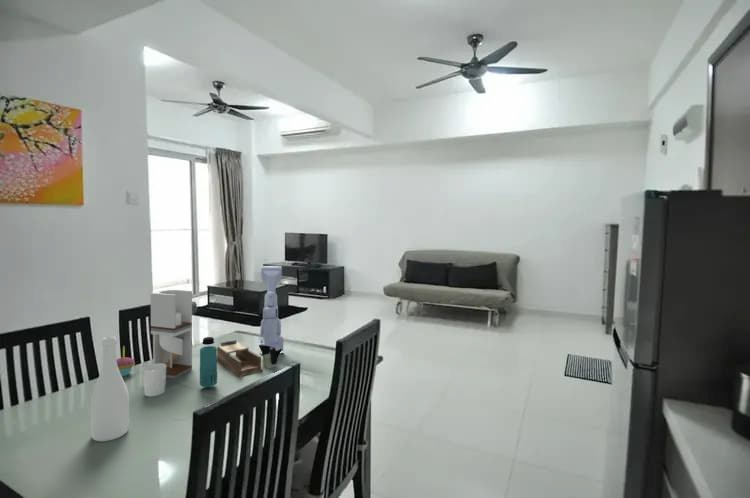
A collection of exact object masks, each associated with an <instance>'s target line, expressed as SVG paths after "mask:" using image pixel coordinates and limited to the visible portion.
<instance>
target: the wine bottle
mask: <svg viewBox="0 0 750 498" xmlns="http://www.w3.org/2000/svg"><path fill="white" fill-rule="evenodd" d="M117 344H118V341H117V337H116V336H114V335H113V336H112V335H110V336H104V337H103V338H102V340H101V346H102V367H101V371H100V373H99V376H98V378H97V381H96V384H95V386H94V389H93V392H92V394H91V397H90V432H91V433H90V436H91V439H92V440H94V441H96V442H110V441H114V440H116V439H119V438H121V437H123V436H124V435H126V433H127V432H128V431H129V428H130V415H129V414H130V413H129V412H130V405H129V403H130V401H129V399H130V398H129V397H130V396H129V395H130V394H129V389H128V387H127V384H126V383H125V380H124V379H123V376H121V374H120V371H119V369H118V366H117V362H116V359H117V346H116V345H117Z"/></svg>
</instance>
